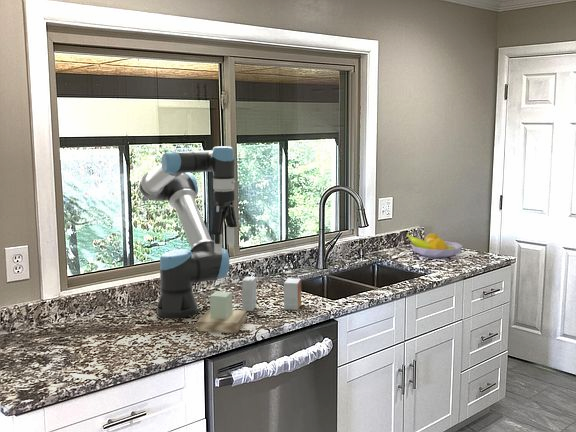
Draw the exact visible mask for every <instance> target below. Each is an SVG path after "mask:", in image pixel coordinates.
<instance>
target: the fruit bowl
mask: <svg viewBox="0 0 576 432" xmlns="http://www.w3.org/2000/svg"><path fill="white" fill-rule="evenodd" d="M406 236H407V237H408V239H409V241H410V242H411V243H410V245H411V246H410V247H411V248H412V250H413V252H414V253H417V254H419V255H420V256H423V257H428V258H433V259H442V258H451V257H453V256H454V255H457V254H459V253H460V252H461V250H462V249H463V245H462V244H460V243H458V242H456V241H455V242H453V241H448V240H443V239H441V237H440V236H439V235H438V234H437V233H432V232H430V233H428V234H427V235H426V236H425V237H424V239H420V238H418V237H414V236H412V235H410V234H409V233H407V234H406Z"/></svg>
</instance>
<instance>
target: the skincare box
mask: <svg viewBox="0 0 576 432" xmlns="http://www.w3.org/2000/svg"><path fill="white" fill-rule="evenodd" d="M256 307H257V276H245V277H244V278H243V279H242V280H241V311H246V312H253V311H254V310H255V308H256Z"/></svg>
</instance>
